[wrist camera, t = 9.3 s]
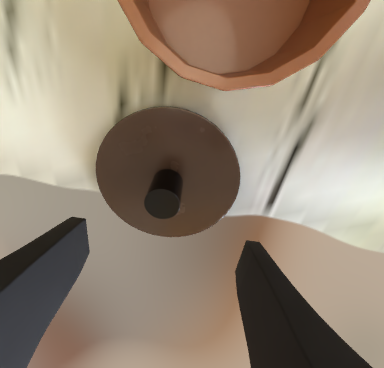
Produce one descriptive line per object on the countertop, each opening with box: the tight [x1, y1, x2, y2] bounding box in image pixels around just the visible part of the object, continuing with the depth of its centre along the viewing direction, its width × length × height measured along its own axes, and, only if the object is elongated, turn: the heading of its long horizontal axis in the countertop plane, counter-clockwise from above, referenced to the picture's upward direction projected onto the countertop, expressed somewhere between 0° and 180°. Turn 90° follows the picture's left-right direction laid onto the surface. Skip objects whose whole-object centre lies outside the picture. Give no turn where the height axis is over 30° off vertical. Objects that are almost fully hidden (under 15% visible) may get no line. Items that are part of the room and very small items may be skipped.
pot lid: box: [96, 107, 240, 237], centre depth 17 cm, size 12×12×4 cm
